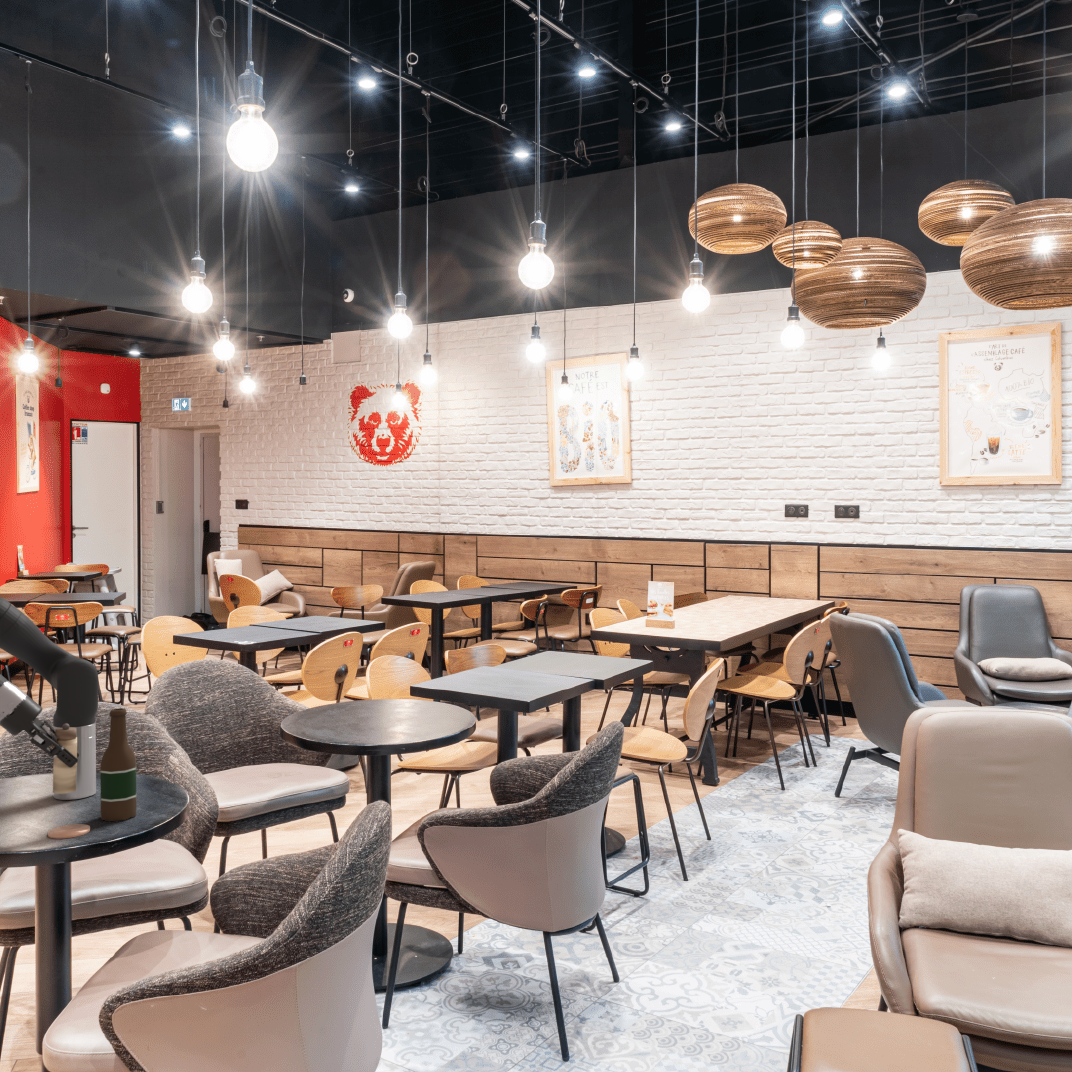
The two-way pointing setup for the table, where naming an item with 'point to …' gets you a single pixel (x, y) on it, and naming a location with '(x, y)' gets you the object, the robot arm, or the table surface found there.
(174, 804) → the table surface
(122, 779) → the beer bottle
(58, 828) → the saucer
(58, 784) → the pepper mill
